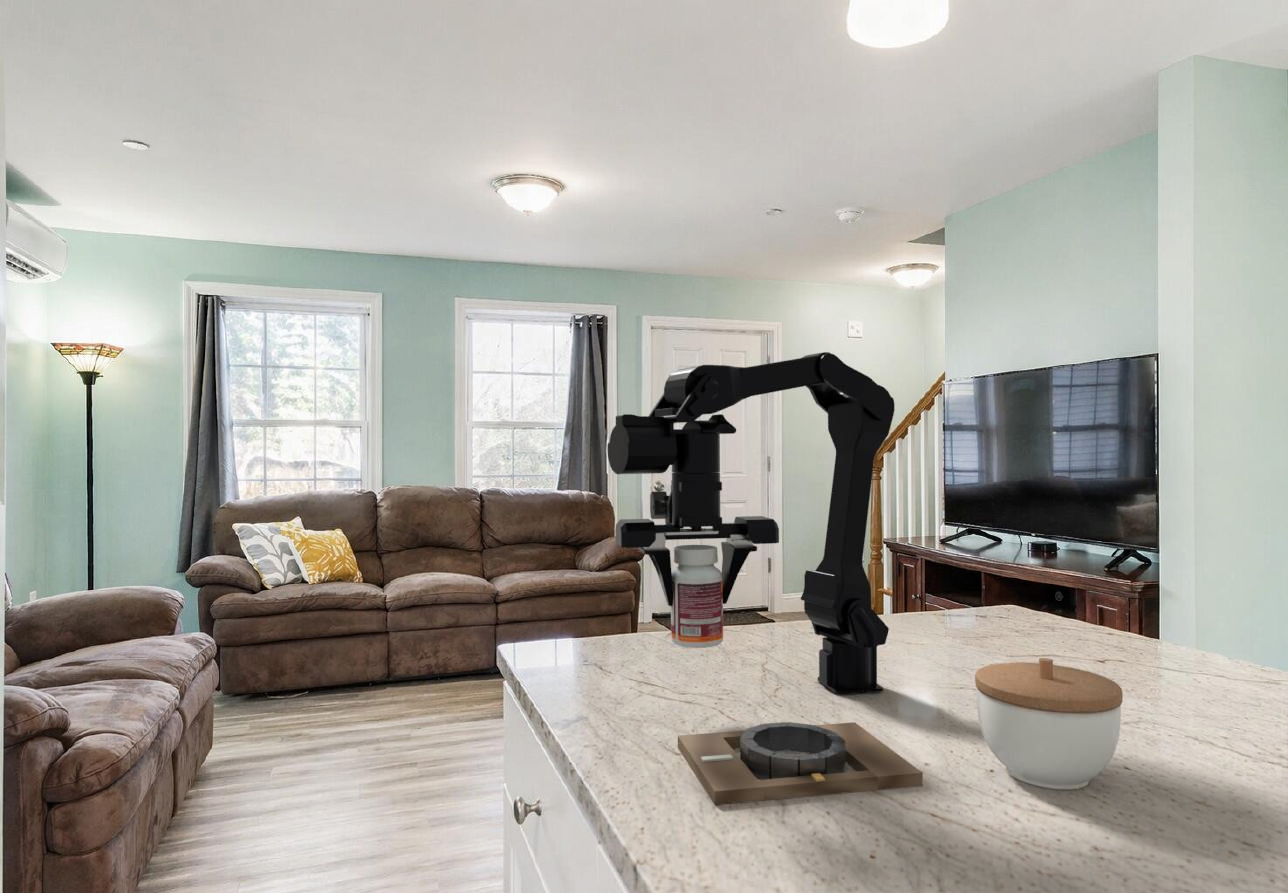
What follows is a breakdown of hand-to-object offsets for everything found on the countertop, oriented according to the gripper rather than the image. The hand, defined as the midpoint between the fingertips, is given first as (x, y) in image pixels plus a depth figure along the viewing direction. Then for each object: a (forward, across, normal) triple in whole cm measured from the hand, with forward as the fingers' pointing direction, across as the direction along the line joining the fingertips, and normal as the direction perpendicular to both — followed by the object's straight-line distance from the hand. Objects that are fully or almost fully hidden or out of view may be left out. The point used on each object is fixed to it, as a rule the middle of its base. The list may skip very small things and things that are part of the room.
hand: (696, 604), depth 95 cm
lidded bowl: (+13, -29, +23) cm, 39 cm away
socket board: (+13, -6, +17) cm, 22 cm away
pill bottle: (+5, 0, 0) cm, 5 cm away
